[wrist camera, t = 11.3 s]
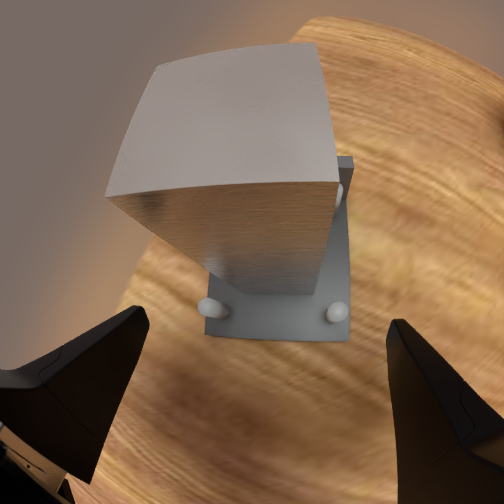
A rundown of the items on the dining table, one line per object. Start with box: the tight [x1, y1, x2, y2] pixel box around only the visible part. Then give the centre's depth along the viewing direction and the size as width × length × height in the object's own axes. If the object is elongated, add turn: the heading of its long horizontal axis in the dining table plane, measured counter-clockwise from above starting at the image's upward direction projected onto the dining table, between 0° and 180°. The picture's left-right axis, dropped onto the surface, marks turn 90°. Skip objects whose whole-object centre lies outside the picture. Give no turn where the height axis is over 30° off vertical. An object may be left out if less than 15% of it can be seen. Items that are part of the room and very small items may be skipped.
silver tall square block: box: [105, 43, 340, 295], centre depth 11 cm, size 4×4×13 cm
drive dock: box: [198, 156, 354, 341], centre depth 16 cm, size 10×9×5 cm
